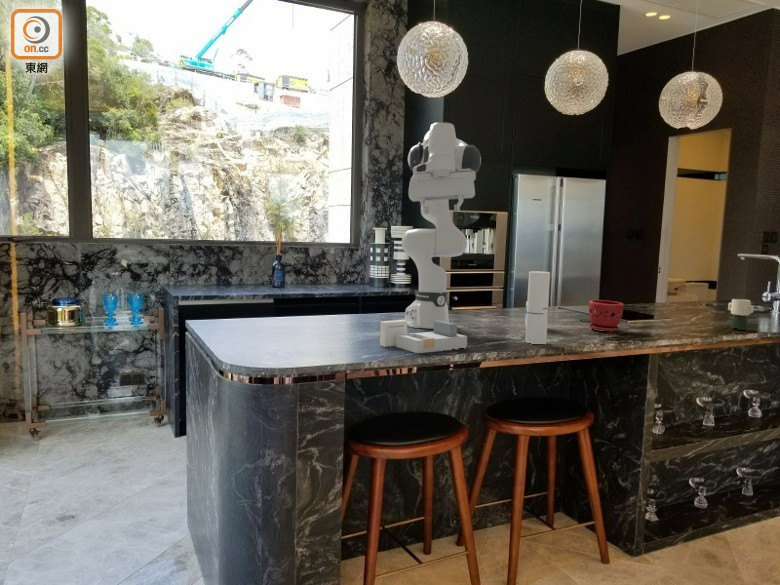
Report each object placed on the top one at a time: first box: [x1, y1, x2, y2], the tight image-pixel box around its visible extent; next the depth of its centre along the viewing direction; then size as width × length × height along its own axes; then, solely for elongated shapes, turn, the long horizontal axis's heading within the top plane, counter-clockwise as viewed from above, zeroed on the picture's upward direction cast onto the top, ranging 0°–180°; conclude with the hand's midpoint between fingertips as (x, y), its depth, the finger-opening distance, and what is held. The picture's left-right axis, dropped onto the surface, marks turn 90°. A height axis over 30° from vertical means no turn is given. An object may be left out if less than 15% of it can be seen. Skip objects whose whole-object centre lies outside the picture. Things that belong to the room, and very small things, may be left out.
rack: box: [395, 320, 468, 354], centre depth 196 cm, size 12×20×8 cm, turn 123°
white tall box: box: [524, 270, 551, 345], centre depth 209 cm, size 7×7×25 cm
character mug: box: [727, 298, 754, 330], centre depth 255 cm, size 11×7×13 cm, turn 27°
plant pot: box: [588, 299, 624, 332], centre depth 242 cm, size 13×13×12 cm
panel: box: [379, 319, 408, 348], centre depth 199 cm, size 9×3×8 cm, turn 123°
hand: (441, 212), depth 182 cm, fingers open, 8 cm apart
